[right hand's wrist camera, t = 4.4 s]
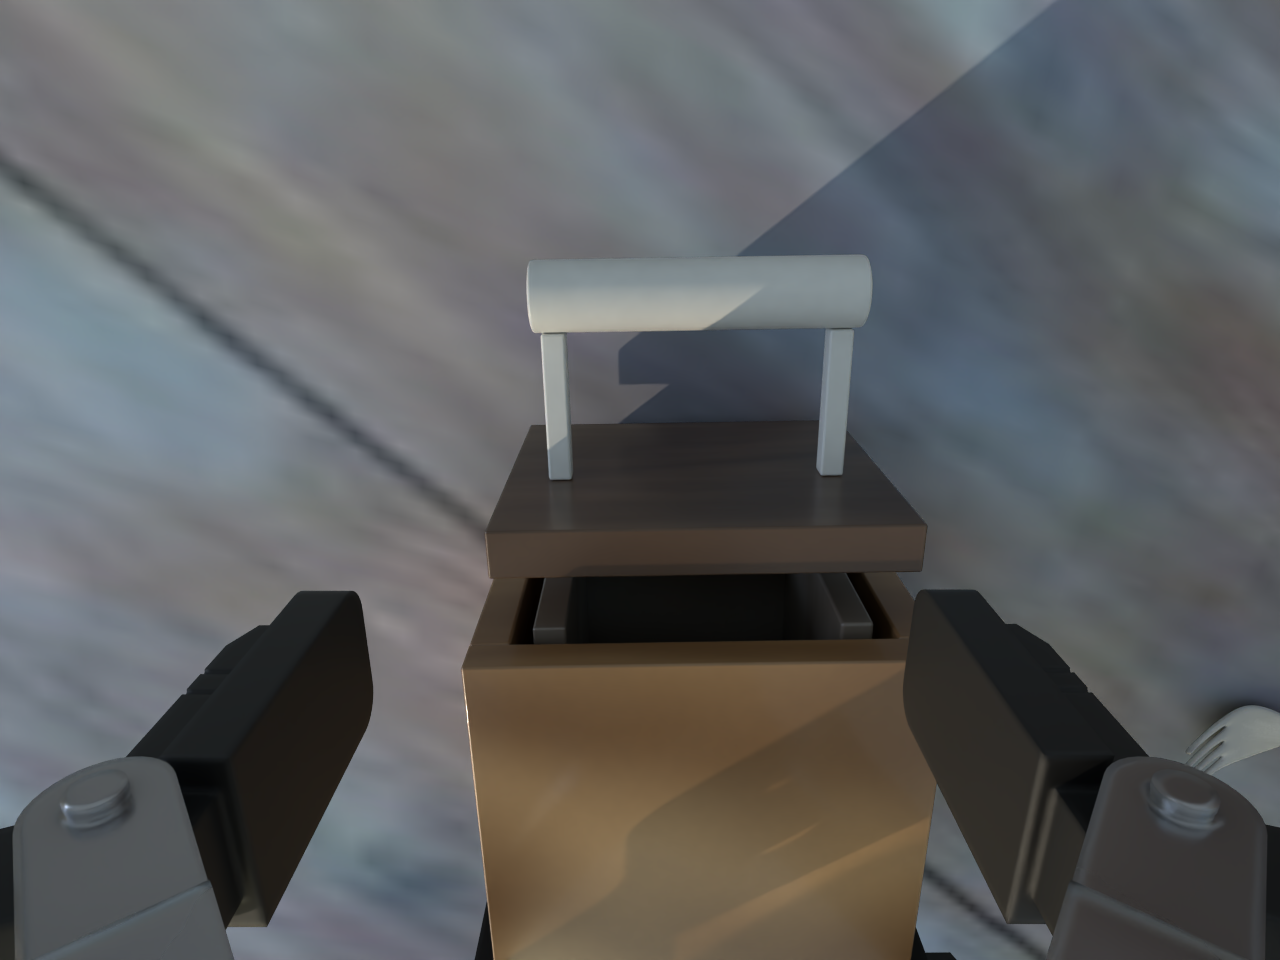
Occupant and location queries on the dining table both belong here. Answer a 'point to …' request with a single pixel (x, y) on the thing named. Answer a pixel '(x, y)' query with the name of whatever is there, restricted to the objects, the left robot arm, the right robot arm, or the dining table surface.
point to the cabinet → (697, 791)
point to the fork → (1238, 737)
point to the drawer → (699, 471)
